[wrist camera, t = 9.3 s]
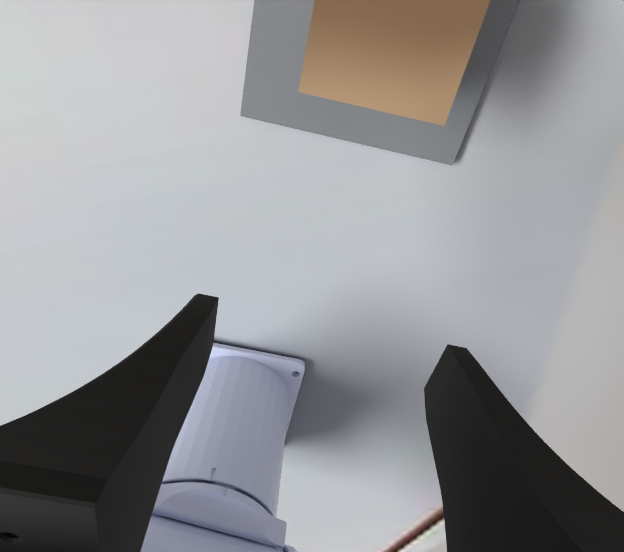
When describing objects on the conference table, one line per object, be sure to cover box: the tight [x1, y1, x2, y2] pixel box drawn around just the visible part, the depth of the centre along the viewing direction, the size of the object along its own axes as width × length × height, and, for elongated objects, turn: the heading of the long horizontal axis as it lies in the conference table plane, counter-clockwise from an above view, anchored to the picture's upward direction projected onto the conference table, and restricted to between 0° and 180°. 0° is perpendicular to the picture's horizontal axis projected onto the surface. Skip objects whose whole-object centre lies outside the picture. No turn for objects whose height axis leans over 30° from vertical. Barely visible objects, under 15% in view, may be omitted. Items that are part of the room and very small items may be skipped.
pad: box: [240, 0, 519, 165], centre depth 18 cm, size 10×10×1 cm
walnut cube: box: [298, 0, 490, 126], centre depth 15 cm, size 5×5×5 cm
